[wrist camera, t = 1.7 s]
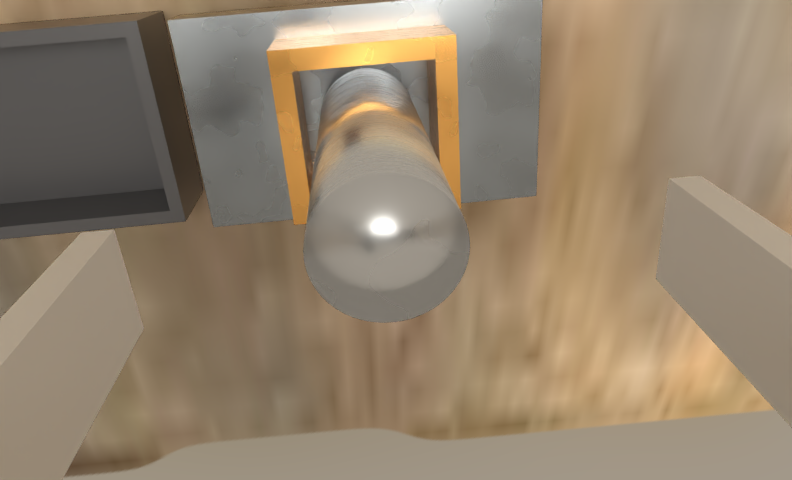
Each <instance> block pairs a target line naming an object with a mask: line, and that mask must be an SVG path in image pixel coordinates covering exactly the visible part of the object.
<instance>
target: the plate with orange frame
mask: <svg viewBox="0 0 792 480" xmlns="http://www.w3.org/2000/svg"><path fill="white" fill-rule="evenodd" d="M167 21H168V25H169V30H170V34H171V39H172V43H173V48H174V52H175V57H176V61H177V66H178V70H179V75H180V79H181V83H182V88H183V92H184V97H185V101H186V106H187V110H188V115H189V119H190V124H191V128H192V133H193V137H194V141H195V146H196V150H197V155H198V159H199V164H200V168H201V173H202V177H203V182H204V186H205V190H206V195H207V199H208V204H209V208H210V213H211V217H212V222H213V226H214V227H220V226H230V225H241V224H251V223H261V222H272V221H282V220H292V219H293V221H294V225H297V224H306V222H307V214H308V207H309V199H310V191H311V184H312V176H313V168H314V161H315V153H316V145H317V138H318V130H319V122H320V114H321V107H322V102H323V99H324V97H325V94H326V92H327V91H328V89H329V88H330V86H331V85H332V84H333V83H334V82H335V81H336V80H337V79H338V78H339V77H341V76H342V75H344V74H346V73H348V72H350V71H353V70H356V69H362V68H372V69H378V70H382V71H384V72H387V73H389V74H391V75H393V76H394V77H395V78H397V79H398V80H399V81H400V82H401V83H402V84H403V85H404V87H405V88H406V89H407V91H408V93H409V95H410V97H411V99H412V101H413V104H414V106H415V108H416V111H417V113H418V115H419V117H420V120H421V122H422V124H423V126H424V129H425V131H426V133H427V136H428V138H429V140H430V142H431V145H432V147H433V149H434V151H435V154H436V156H437V158H438V161H439V163H440V165H441V167H442V170H443V172H444V174H445V176H446V179H447V181H448V183H449V186H450V188H451V190H452V192H453V195H454V197H455V199H456V201H457V204H458V206H459V208H460V209H461V203H468V202H478V201H488V200H499V199H509V198H519V197H529V196H536V189H537V157H538V126H539V94H540V63H541V31H542V0H353V1H341V2H329V3H317V4H305V5H293V6H281V7H269V8H257V9H245V10H233V11H221V12H209V13H197V14H185V15H178V16H176V17H174V18H172V19H169V20H167Z"/></svg>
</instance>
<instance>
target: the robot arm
mask: <svg viewBox="0 0 792 480" xmlns="http://www.w3.org/2000/svg"><path fill="white" fill-rule="evenodd" d="M656 280H657V281H658V282H659V283H660V284H661V285H662V286H663V287H664V288H665V290H666V291H667V292H668V293H669V294H670V295H671V296H672V297H673V298H674V299H675V300H676V302H677V303H678V304H679V305H680V306H681V307H682V308H683V309H684V310H685V311H686V313H687V314H688V315H689V316H690V317H691V318H692V319H693V320H694V321H695V322H696V324H697V325H698V326H699V327H700V328H701V329H702V330H703V331H704V332H705V333H706V334H707V336H708V337H709V338H710V339H711V340H712V341H713V342H714V343H715V344H716V345H717V347H718V348H719V349H720V350H721V351H722V352H723V353H724V354H725V355H726V356H727V357H728V359H729V360H730V361H731V362H732V363H733V364H734V365H735V366H736V367H737V368H738V370H739V371H740V372H741V373H742V374H743V375H744V376H745V377H746V378H747V379H748V381H749V382H750V383H751V384H752V385H753V386H754V387H755V388H756V389H757V390H758V391H759V393H760V394H761V395H762V396H763V397H764V398H765V399H766V400H767V401H768V402H769V404H770V405H771V406H772V407H773V408H774V409H775V410H776V411H777V412H778V413H779V414H780V416H781V417H782V418H783V419H784V420H785V421H786V422H787V423H788V424H789V425H790V426H791V428H792V236H791V235H790V234H788V233H787V232H785V231H784V230H782V229H781V228H779V227H778V226H776V225H775V224H773V223H772V222H770V221H769V220H767V219H765V218H764V217H762V216H761V215H759V214H758V213H756V212H755V211H753V210H752V209H750V208H749V207H747V206H746V205H744V204H743V203H741V202H740V201H738V200H737V199H735V198H734V197H732V196H731V195H729V194H728V193H726V192H725V191H723V190H722V189H720V188H719V187H717V186H715V185H714V184H712V183H711V182H709V181H708V180H706V179H705V178H703V177H702V176H690V177H679V178H669V182H668V189H667V197H666V205H665V212H664V220H663V228H662V235H661V243H660V250H659V258H658V266H657V273H656ZM143 330H144V326H143V323H142V320H141V316H140V313H139V310H138V306H137V303H136V300H135V296H134V293H133V290H132V286H131V283H130V280H129V277H128V273H127V270H126V267H125V263H124V260H123V257H122V253H121V250H120V247H119V243H118V240H117V237H116V233H115V230H104V231H93V232H82V233H80V234H79V235H78V236H77V237H76V239H75V240H74V241H73V242H72V243H71V244H70V245H69V246H68V247H67V248H66V249H65V250H64V251H63V252H62V253H61V254H60V256H59V257H58V258H57V259H56V260H55V261H54V262H53V263H52V264H51V265H50V266H49V267H48V268H47V269H46V270H45V271H44V273H43V274H42V275H41V276H40V277H39V278H38V279H37V280H36V281H35V282H34V283H33V284H32V285H31V286H30V287H29V289H28V290H27V291H26V292H25V293H24V294H23V295H22V296H21V297H20V298H19V299H18V300H17V301H16V302H15V303H14V304H13V306H12V307H11V308H10V309H9V310H8V311H7V312H6V313H5V314H4V315H3V316H2V317H1V318H0V480H62V479H63V477H64V476H65V474H66V472H67V470H68V468H69V466H70V465H71V463H72V461H73V459H74V457H75V455H76V453H77V452H78V450H79V448H80V446H81V444H82V442H83V440H84V439H85V437H86V435H87V433H88V431H89V429H90V428H91V426H92V424H93V422H94V420H95V418H96V416H97V415H98V413H99V411H100V409H101V407H102V405H103V403H104V402H105V400H106V398H107V396H108V394H109V392H110V391H111V389H112V387H113V385H114V383H115V381H116V379H117V378H118V376H119V374H120V372H121V370H122V368H123V367H124V365H125V363H126V361H127V359H128V357H129V355H130V354H131V352H132V350H133V348H134V346H135V344H136V342H137V341H138V339H139V337H140V335H141V333H142V331H143Z"/></svg>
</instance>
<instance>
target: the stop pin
mask: <svg viewBox="0 0 792 480" xmlns="http://www.w3.org/2000/svg"><path fill="white" fill-rule="evenodd" d="M469 252H470V240H469V233H468V229H467V225H466V222H465V220H464V217H463V215H462V213H461V211H460V208H459V206H458V204H457V201H456V199H455V197H454V195H453V192H452V190H451V188H450V186H449V183H448V181H447V179H446V176H445V174H444V172H443V170H442V167H441V165H440V163H439V161H438V158H437V156H436V154H435V151H434V149H433V147H432V145H431V142H430V140H429V138H428V136H427V133H426V131H425V129H424V126H423V124H422V122H421V120H420V117H419V115H418V113H417V111H416V108H415V106H414V104H413V101H412V99H411V97H410V95H409V93H408V91H407V89H406V88H405V87H404V85H403V84H402V83H401V82H400V81H399V80H398V79H397V78H395V77H394V76H393V75H391V74H389V73H387V72H384V71H382V70H378V69H372V68H362V69H356V70H353V71H350V72H348V73H346V74H344V75H342V76H341V77H339V78H338V79H337V80H336V81H335V82H334V83H333V84H332V85H331V86H330V88H329V89H328V91H327V92H326V94H325V97H324V99H323V102H322V107H321V114H320V122H319V130H318V138H317V145H316V153H315V161H314V168H313V176H312V184H311V191H310V199H309V207H308V214H307V222H306V230H305V238H304V249H303V253H304V262H305V267H306V271H307V273H308V276H309V278H310V280H311V282H312V284H313V286H314V287H315V289H316V290H317V291H318V293H319V294H320V295H321V296H322V297H323V298H324V299H325V300H326V301H327V302H328V303H329V304H330V305H332V306H333V307H334V308H336V309H337V310H339V311H341V312H343V313H344V314H347V315H349V316H351V317H354V318H357V319H360V320H364V321H370V322H381V323H386V322H398V321H404V320H407V319H411V318H414V317H417V316H419V315H422V314H424V313H426V312H428V311H430V310H432V309H433V308H435V307H436V306H437V305H439V304H440V303H441V302H443V301H444V300H445V299H446V298H447V297H448V296H449V295H450V294H451V293H452V292H453V290H454V289H455V288H456V286H457V285H458V283H459V282H460V280H461V278H462V276H463V274H464V272H465V269H466V266H467V264H468V259H469Z"/></svg>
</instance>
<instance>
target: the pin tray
mask: <svg viewBox="0 0 792 480" xmlns="http://www.w3.org/2000/svg"><path fill="white" fill-rule="evenodd" d="M202 192H203V188H202V183H201V179H200V174H199V170H198V166H197V161H196V157H195V152H194V148H193V143H192V139H191V135H190V130H189V126H188V121H187V117H186V113H185V108H184V104H183V99H182V95H181V90H180V86H179V82H178V77H177V73H176V68H175V64H174V59H173V55H172V51H171V46H170V42H169V37H168V33H167V28H166V24H165V20H164V15H163V11H155V12H143V13H131V14H119V15H107V16H95V17H83V18H71V19H59V20H47V21H35V22H23V23H11V24H0V239H8V238H19V237H29V236H39V235H50V234H60V233H70V232H81V231H91V230H102V229H112V228H122V227H133V226H143V225H153V224H164V223H174V222H185V221H186V220H187V218H188V217H189V215H190V213H191V211H192V209H193V208H194V206H195V204H196V202H197V201H198V199H199V197H200V195H201V194H202Z"/></svg>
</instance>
